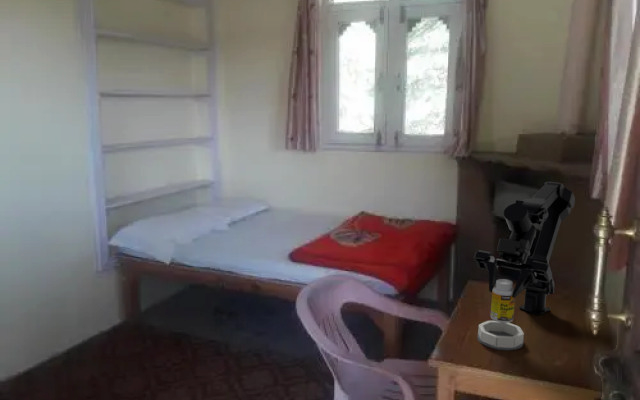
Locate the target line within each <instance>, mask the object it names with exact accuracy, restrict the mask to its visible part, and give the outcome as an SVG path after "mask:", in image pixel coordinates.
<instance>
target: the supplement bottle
mask: <svg viewBox="0 0 640 400" xmlns="http://www.w3.org/2000/svg"><path fill="white" fill-rule="evenodd" d="M513 284H514V283H513V281H512V280H510V279H507V278H498V279H497V280H496V284H495V287H493V289H492V293H491V302H490V303H491V306H490V318H491V319H492V321H496V322H500V323H511V322H513V320H514V315H515V314H514V313H515V303H516V302H515V301H516V297H515V298H513V297H512V295H513V291H514V289H515V288H513V287H514V286H513Z"/></svg>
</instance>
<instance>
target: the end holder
mask: <svg viewBox="0 0 640 400" xmlns="http://www.w3.org/2000/svg"><path fill="white" fill-rule="evenodd" d="M524 335H525V333H524V331H523V330H522V328H521V327H520V326H519V325H516V324H513V323H511V322H509V323H500V322H496V321H494V320H485V321H483V322H482V323H479V324H478V331H477V340H478V342H479V343H480V344H482V345H484V346H485V347H487V348H491V349H494V350H497V351H508V352H509V351H516V350H519V349H521V348H522V347H523V346H524V337H525V336H524Z"/></svg>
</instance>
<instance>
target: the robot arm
mask: <svg viewBox="0 0 640 400" xmlns="http://www.w3.org/2000/svg"><path fill="white" fill-rule="evenodd" d="M575 203H576V197H575V194H574V192H573V191H572V190H569V189H568V188H567V187H565V185H564V184H563V183H561V182H554V181H546V182H544V183H543V184H542V187H541V188H540V189H539V190H538V191H537V193H535V194H534V195H533V196H532V197H531V198H525V199H522V200H520V199H519V200H518V199H516V200H515V203H511V204H509V205H508V206H507V207H505V209H504V210H503V216H504V219H505V221H506V224H507V226H508V229H509V230H510V231H511V233H510V235H509V238H499V239H498V242H497V243H498V244H497V247H496V251H497V252H499V257H502V258H497V257H495V256H494V255H493V253H492V252H491V251H486V250H481V249H479V250H477V251H475V253H474V256H473V259H474V262H475V264H476V265H477V268H479V269H481V270H486V271H487V272H488V291H489V293H491V294H492V289H493V287H495V286H496V280H498V279H499V275H500V272H499V270H498V268H500V267H501V268H506V269H510V270H515V271H519V272H518V277H517V278H518V279H517V282H516V284H515V287H514V288H513V289H514V291H513V295H512V297H513V298H515V299H516V298H517V296H519V294H521V293H522V291H523V292H524V290H525V292H524V304H523V305H520V306H518V307H519V309H520V310H521V311H525V312H529V313H531V314H535V315H538V316H540V315H543V314H544V313H547V312H550V311H551V308H550V307H547V306H546V302H547V301H546V300H547V296H549V295H553V294H554V291H555V281H554V278H553V272H552V270H551V267H550V264H549V262H550V260H551V256H552V252H553V250H554V245H555V242H556V241H557V240H556V239H557V235H558V233H559V230H560V226H561V223H562V221H563V220H564V219H566V218H567V217H568V216H570V213H571V212H572V209H573V208H574V206H575ZM535 225H539V226H541V229H540V232H539V234H538V239H537V241H536V244H535V248H534V250H533V253H532V256H530V255H531V251H530V250H531V248H532V245H533V244H534V243H533V242H534V239H536V235H537V228H536V227H535Z"/></svg>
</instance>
